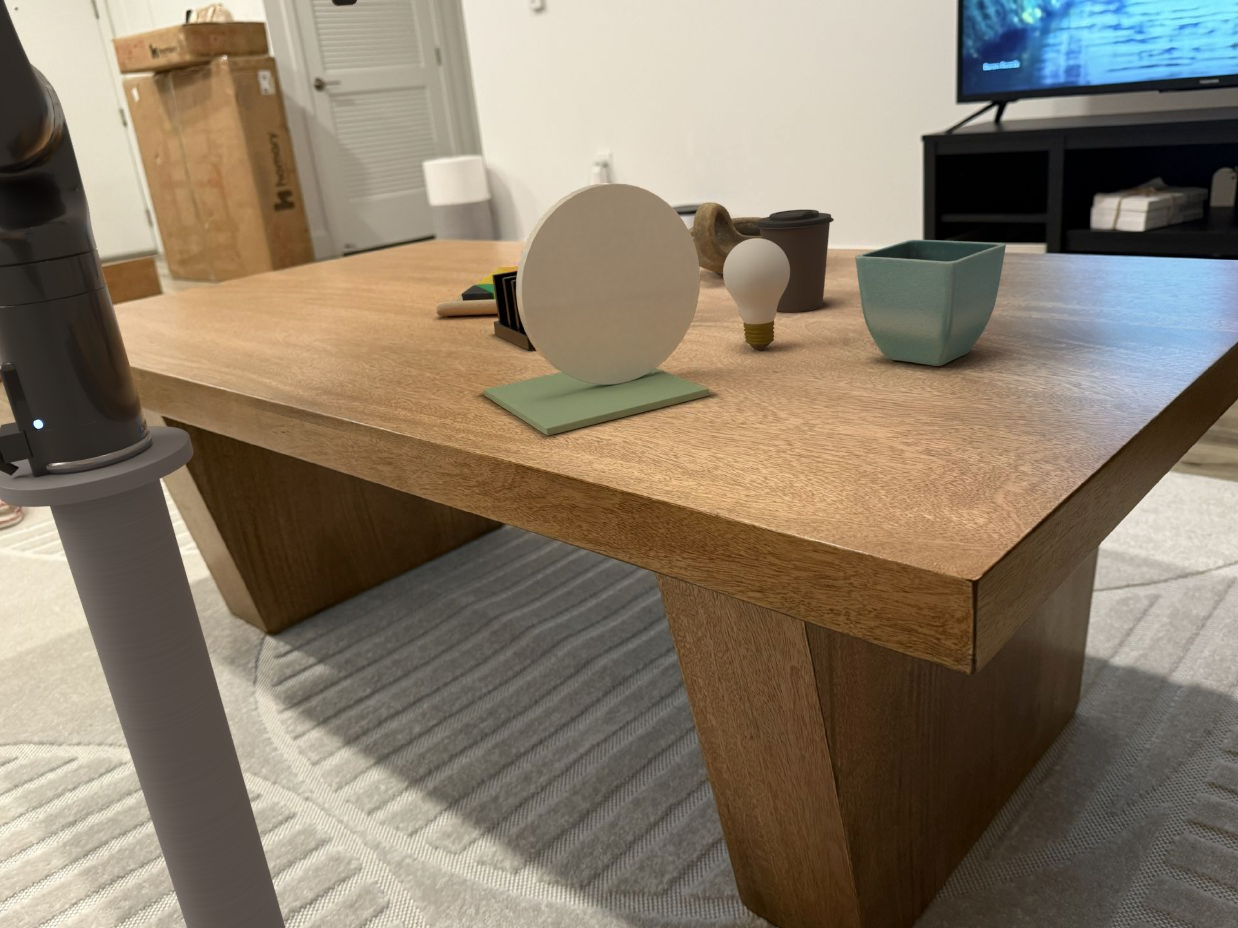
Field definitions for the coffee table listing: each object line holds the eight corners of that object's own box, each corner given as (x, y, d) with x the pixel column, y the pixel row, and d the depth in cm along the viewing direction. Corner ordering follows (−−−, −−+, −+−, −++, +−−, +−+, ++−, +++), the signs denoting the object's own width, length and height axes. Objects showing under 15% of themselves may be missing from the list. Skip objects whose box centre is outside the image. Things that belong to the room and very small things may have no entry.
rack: (529, 351, 98) (520, 286, 96) (495, 335, 107) (486, 275, 105) (635, 328, 103) (629, 266, 101) (594, 315, 111) (588, 257, 109)
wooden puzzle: (433, 320, 118) (428, 291, 116) (493, 288, 134) (489, 262, 133) (571, 315, 113) (567, 284, 111) (616, 282, 129) (613, 255, 128)
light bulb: (714, 351, 91) (707, 242, 87) (761, 338, 94) (756, 231, 90) (758, 361, 86) (752, 246, 83) (806, 347, 89) (802, 235, 86)
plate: (502, 369, 77) (545, 160, 74) (497, 366, 78) (539, 160, 75) (675, 397, 84) (720, 209, 81) (668, 394, 85) (712, 209, 82)
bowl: (814, 263, 128) (812, 184, 125) (753, 291, 115) (749, 204, 112) (721, 262, 136) (717, 188, 133) (654, 289, 123) (647, 207, 119)
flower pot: (1004, 350, 82) (1009, 241, 79) (951, 377, 76) (953, 261, 73) (909, 340, 88) (910, 238, 85) (853, 364, 82) (852, 256, 79)
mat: (547, 436, 73) (546, 428, 72) (484, 395, 85) (483, 389, 84) (709, 395, 78) (708, 388, 78) (628, 363, 90) (627, 356, 90)
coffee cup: (819, 316, 100) (816, 215, 97) (746, 314, 104) (741, 217, 101) (846, 299, 106) (845, 204, 103) (777, 297, 111) (773, 206, 107)
